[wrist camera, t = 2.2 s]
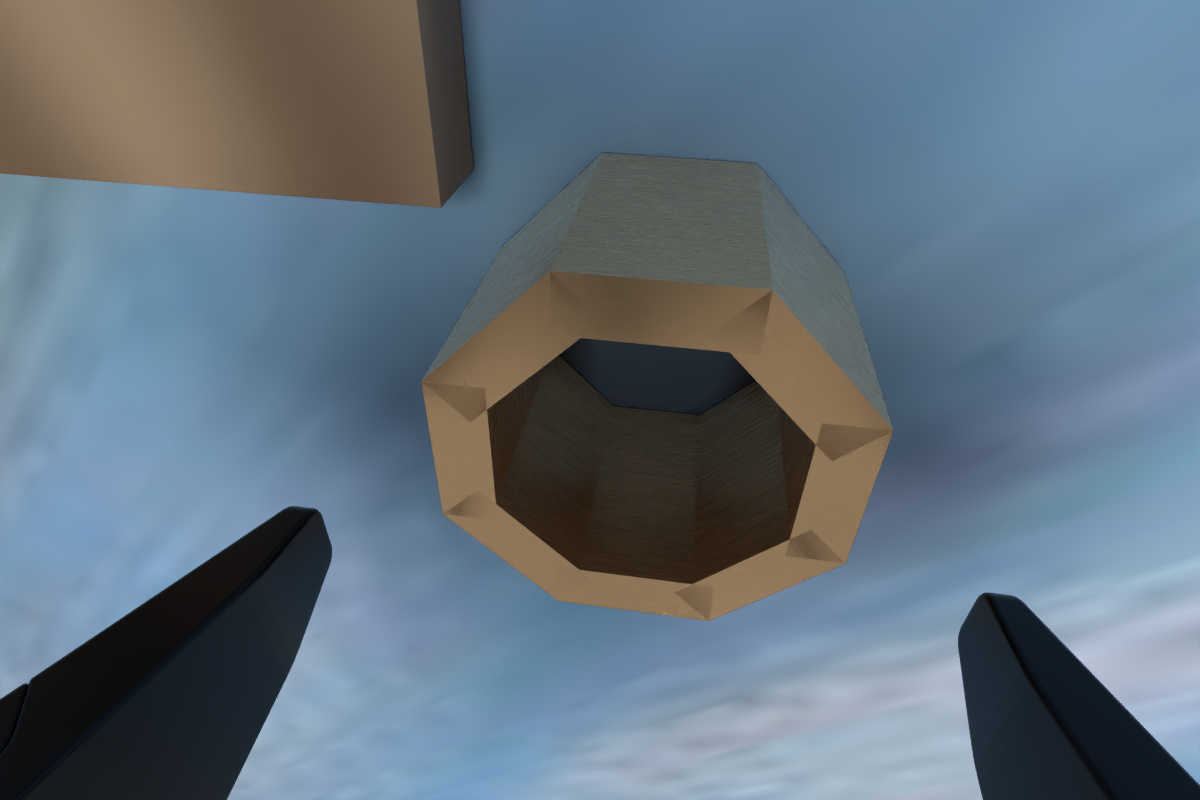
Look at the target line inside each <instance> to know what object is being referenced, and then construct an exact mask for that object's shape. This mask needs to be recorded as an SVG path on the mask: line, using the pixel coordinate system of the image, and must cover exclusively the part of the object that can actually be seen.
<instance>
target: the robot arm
mask: <svg viewBox="0 0 1200 800" xmlns="http://www.w3.org/2000/svg"><path fill="white" fill-rule="evenodd" d="M331 558H332V546H331V543H330V539H329V536H328V533H327V530H326V527H325V524H324V521H323V517H322V515H321V513H320V512H319V511H318V510H317V509H314V508H306V507H298V506H291V507H288V508H285V509H284V510H282V511H281V512H279V513H278V514H276V515H275V516H273V517H272V518H270V519H269V520H267V521H266V522H264V523H263V524H261V525H260V526H258V527H257V528H255V529H254V530H252V531H251V532H249V533H248V534H246V535H245V536H243V537H242V538H240V539H239V540H237V541H236V542H234V543H233V544H231V545H230V546H228V547H227V548H225V549H224V550H222V551H221V552H219V553H218V554H216V555H215V556H213V557H212V558H210V559H209V560H208V561H206V562H205V563H203V564H202V565H200V566H199V567H197V568H196V569H194V570H193V571H191V572H190V573H188V574H187V575H185V576H184V577H182V578H181V579H179V580H178V581H176V582H175V583H173V584H172V585H170V586H169V587H167V588H166V589H164V590H163V591H161V592H160V593H158V594H157V595H155V596H154V597H152V598H151V599H149V600H148V601H146V602H145V603H143V604H142V605H140V606H139V607H137V608H136V609H134V610H133V611H132V612H130V613H129V614H127V615H126V616H124V617H123V618H121V619H120V620H118V621H117V622H115V623H114V624H112V625H111V626H109V627H108V628H106V629H105V630H103V631H102V632H100V633H99V634H97V635H96V636H94V637H93V638H91V639H90V640H88V641H87V642H85V643H84V644H82V645H81V646H79V647H78V648H76V649H75V650H73V651H72V652H70V653H69V654H67V655H66V656H64V657H63V658H61V659H60V660H59V661H57V662H56V663H54V664H53V665H51V666H50V667H48V668H47V669H45V670H44V671H42V672H41V673H39V674H38V675H36V676H35V677H33V678H32V679H31V680H30V682H29V684H22V685H21V686H19V687H18V688H16V689H15V690H13V691H12V692H10V693H9V694H7V695H6V696H5V697H3V698H2V699H0V800H227V798H228V796H229V794H230V792H231V790H232V788H233V786H234V784H235V782H236V780H237V778H238V776H239V774H240V772H241V770H242V768H243V765H244V763H245V761H246V759H247V757H248V755H249V753H250V751H251V749H252V747H253V745H254V743H255V741H256V739H257V737H258V735H259V733H260V731H261V729H262V727H263V725H264V723H265V721H266V719H267V717H268V714H269V712H270V710H271V708H272V706H273V704H274V702H275V700H276V698H277V696H278V694H279V692H280V690H281V688H282V686H283V684H284V682H285V680H286V678H287V676H288V673H289V671H290V669H291V667H292V665H293V663H294V660H295V658H296V655H297V653H298V650H299V648H300V645H301V642H302V640H303V637H304V634H305V631H306V629H307V626H308V623H309V620H310V618H311V615H312V612H313V609H314V607H315V604H316V601H317V598H318V596H319V593H320V590H321V587H322V585H323V582H324V579H325V577H326V574H327V571H328V568H329V566H330V562H331ZM958 649H959V656H960V664H961V671H962V678H963V686H964V693H965V701H966V708H967V716H968V723H969V731H970V738H971V745H972V751H973V758H974V763H975V768H976V772H977V777H978V781H979V785H980V789H981V793H982V797H983V800H1200V785H1199V784H1198V783H1197V782H1196V781H1195V780H1194V779H1193V778H1192V777H1191V776H1190V774H1189V773H1188V772H1187V771H1186V770H1185V769H1184V768H1183V767H1182V766H1181V765H1180V764H1179V763H1178V762H1177V761H1176V760H1175V759H1174V758H1173V757H1172V756H1171V755H1170V754H1169V753H1168V752H1167V751H1166V750H1165V749H1164V748H1163V746H1162V745H1161V744H1160V743H1159V742H1158V741H1157V740H1156V739H1155V738H1154V737H1153V736H1152V735H1151V734H1150V733H1149V732H1148V731H1147V730H1146V729H1145V728H1144V727H1143V726H1142V725H1141V724H1140V723H1139V722H1138V721H1137V720H1136V718H1135V717H1134V716H1133V715H1132V714H1131V713H1130V712H1129V711H1128V710H1127V709H1126V708H1125V707H1124V706H1123V705H1122V704H1121V703H1120V702H1119V701H1118V700H1117V699H1116V698H1115V697H1114V696H1113V695H1112V694H1111V693H1110V692H1109V690H1108V689H1107V688H1106V687H1105V686H1104V685H1103V684H1102V683H1101V682H1100V681H1099V680H1098V679H1097V678H1096V677H1095V676H1094V675H1093V674H1092V673H1091V672H1090V671H1089V670H1088V669H1087V668H1086V667H1085V666H1084V665H1083V664H1082V662H1081V661H1080V660H1079V659H1078V658H1077V657H1076V656H1075V655H1074V654H1073V653H1072V652H1071V651H1070V650H1069V649H1068V648H1067V647H1066V646H1065V645H1064V644H1063V643H1062V642H1061V641H1060V640H1059V639H1058V638H1057V637H1056V636H1055V635H1054V633H1053V632H1052V631H1051V630H1050V629H1049V628H1048V627H1047V626H1046V625H1045V624H1044V623H1043V622H1042V621H1041V620H1040V619H1039V618H1038V617H1037V616H1036V615H1035V614H1034V613H1033V612H1032V611H1031V610H1030V609H1029V608H1028V607H1027V605H1026V604H1025V603H1024V602H1022V601H1021V600H1020V599H1018V598H1017V597H1015V596H1011V595H1003V594H995V593H983V594H982V595H980V596H979V597H978V598H977V600H976V602H975V603H974V605H973V607H972V609H971V611H970V612H969V614H968V616H967V618H966V619H965V621H964V623H963V625H962V627H961V629H960V632H959V637H958Z"/></svg>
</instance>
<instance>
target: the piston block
mask: <svg viewBox="0 0 1200 800" xmlns="http://www.w3.org/2000/svg"><path fill="white" fill-rule="evenodd" d="M473 170H474V167H473V156H472V144H471V133H470V121H469V110H468V98H467V87H466V75H465V64H464V52H463V41H462V29H461V18H460V7H459V0H0V173H3V174H16V175H29V176H41V177H54V178H67V179H80V180H93V181H106V182H118V183H131V184H144V185H157V186H170V187H183V188H195V189H208V190H221V191H234V192H247V193H260V194H272V195H285V196H298V197H311V198H324V199H336V200H349V201H362V202H375V203H388V204H401V205H413V206H426V207H439V208H441V207H442V206H443V205H444V204H445V202H446V201H447V200H448V199H449V198H450V197H451V196H452V194H453V193H454V192H455V191H456V190H457V189H458V187H459V186H460V185H461V184H462V183H463V182H464V180H465V179H466V178H467V177H468V176H469V175H470V173H471V172H472V171H473Z"/></svg>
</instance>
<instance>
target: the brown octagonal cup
mask: <svg viewBox="0 0 1200 800" xmlns="http://www.w3.org/2000/svg"><path fill="white" fill-rule="evenodd" d="M580 338H585V339H595V340H606V341H616V342H627V343H637V344H648V345H658V346H669V347H679V348H690V349H700V350H711V351H721V352H730V353H731V354H732V355H733V356H734V358H735V359H736V360H737V361H738V362H739V363H740V364H741V365H742V366H743V367H744V368H745V369H746V370H747V371H748V373H749V374H750V375H751V376H752V377H753V378H754V379H755V380H756V381H755V382H753V383H751V384H750V385H748V386H747V387H745V388H743V389H742V390H740V391H738V392H737V393H735V394H733V395H732V396H730V397H729V398H727V399H725V400H724V401H722V402H720V403H719V404H717V405H715V406H714V407H712V408H711V409H709V410H707V411H706V412H704V413H702V414H701V415H693V414H684V413H674V412H665V411H655V410H646V409H636V408H626V407H617V406H613V405H612V404H610V403H609V402H608V401H607V400H606V399H605V398H604V397H603V396H602V395H601V394H600V393H599V392H598V391H597V390H596V389H594V388H593V387H592V386H591V385H590V384H589V383H588V382H587V381H586V380H585V379H584V378H583V377H582V376H581V375H579V374H578V373H577V372H576V371H575V370H574V369H573V368H572V367H571V366H570V365H569V364H568V363H567V362H566V361H565V360H563V359H562V358H561V357H560V356H559V354H561V353H562V352H563V351H565V350H566V349H567V348H569V347H570V346H571V345H572V344H574V343H575V342H576V341H578V340H579V339H580ZM421 383H422V389H423V395H424V401H425V408H426V414H427V420H428V426H429V432H430V438H431V444H432V451H433V457H434V463H435V469H436V475H437V481H438V487H439V493H440V500H441V506H442V512H443V514H444V515H445V516H446V517H448V518H449V519H450V520H452V521H453V522H454V523H456V524H457V525H458V526H459V527H461V528H462V529H463V530H465V531H466V532H467V533H469V534H470V535H471V536H473V537H474V538H475V539H477V540H478V541H479V542H481V543H482V544H483V545H485V546H486V547H487V548H489V549H490V550H491V551H493V552H494V553H495V554H497V555H498V556H499V557H500V558H502V559H503V560H504V561H506V562H507V563H508V564H510V565H511V566H512V567H514V568H515V569H516V570H518V571H519V572H520V573H522V574H523V575H524V576H526V577H527V578H528V579H530V580H531V581H532V582H534V583H535V584H536V585H538V586H539V587H540V588H541V589H543V590H544V591H545V592H547V593H548V594H549V595H551V596H552V597H553V598H555V599H556V600H557V601H563V602H571V603H578V604H586V605H593V606H601V607H608V608H616V609H623V610H631V611H638V612H646V613H653V614H660V615H668V616H675V617H683V618H690V619H698V620H705V621H710V620H712V619H715V618H717V617H719V616H722V615H724V614H726V613H729V612H731V611H734V610H736V609H738V608H741V607H743V606H745V605H748V604H750V603H753V602H755V601H757V600H760V599H762V598H765V597H767V596H769V595H772V594H774V593H776V592H779V591H781V590H784V589H786V588H788V587H791V586H793V585H795V584H798V583H800V582H803V581H805V580H807V579H810V578H812V577H815V576H817V575H819V574H822V573H824V572H826V571H829V570H831V569H834V568H836V567H838V566H841V565H843V564H845V563H846V561H847V558H848V555H849V553H850V550H851V547H852V544H853V542H854V539H855V536H856V533H857V531H858V528H859V525H860V522H861V519H862V517H863V514H864V511H865V508H866V506H867V503H868V500H869V497H870V494H871V492H872V489H873V486H874V483H875V481H876V478H877V475H878V472H879V469H880V467H881V464H882V461H883V458H884V456H885V453H886V450H887V447H888V444H889V442H890V439H891V436H892V433H893V431H894V430H893V427H892V424H891V421H890V417H889V414H888V411H887V408H886V404H885V401H884V398H883V395H882V392H881V388H880V385H879V382H878V379H877V375H876V372H875V369H874V366H873V362H872V359H871V356H870V353H869V349H868V346H867V343H866V340H865V336H864V333H863V330H862V327H861V324H860V320H859V317H858V314H857V311H856V307H855V304H854V301H853V298H852V294H851V291H850V288H849V285H848V281H847V278H846V275H845V273H844V271H843V270H842V269H841V268H840V266H839V265H838V264H837V263H836V261H835V260H834V259H833V258H832V256H831V255H830V254H829V253H828V251H827V250H826V249H825V248H824V246H823V245H822V244H821V242H820V241H819V240H818V239H817V237H816V236H815V235H814V234H813V232H812V231H811V230H810V229H809V227H808V226H807V225H806V224H805V222H804V221H803V220H802V219H801V217H800V216H799V215H798V214H797V212H796V211H795V210H794V209H793V207H792V206H791V205H790V204H789V202H788V201H787V200H786V198H785V197H784V196H783V195H782V193H781V192H780V191H779V190H778V188H777V187H776V186H775V185H774V183H773V182H772V181H771V180H770V178H769V177H768V176H767V175H766V173H765V172H764V171H763V170H762V168H761V167H760V166H759V165H758V163H746V162H732V161H717V160H703V159H688V158H673V157H659V156H644V155H629V154H615V153H602V154H601V155H599V156H598V157H597V158H596V159H595V160H594V161H593V162H592V163H591V164H590V165H589V166H588V167H587V168H585V169H584V170H583V171H582V172H581V173H580V174H579V175H578V176H577V177H576V178H575V179H574V180H573V181H571V182H570V183H569V184H568V185H567V186H566V187H565V188H564V189H563V190H562V191H561V192H560V193H559V194H558V195H556V196H555V197H554V198H553V199H552V200H551V201H550V202H549V203H548V204H547V205H546V206H545V207H544V208H542V209H541V210H540V211H539V212H538V213H537V214H536V215H535V216H534V217H533V218H532V219H531V220H530V221H529V222H527V223H526V224H525V225H524V226H523V227H522V228H521V229H520V230H519V231H518V232H517V233H516V234H515V235H513V236H512V237H511V238H510V239H509V240H508V241H507V242H506V243H505V244H504V245H503V246H502V248H501V250H500V251H499V253H498V255H497V256H496V258H495V260H494V261H493V263H492V265H491V266H490V268H489V270H488V271H487V273H486V275H485V276H484V278H483V280H482V281H481V283H480V285H479V286H478V288H477V290H476V291H475V293H474V295H473V296H472V298H471V300H470V301H469V303H468V305H467V306H466V308H465V309H464V311H463V313H462V314H461V316H460V318H459V319H458V321H457V323H456V324H455V326H454V328H453V329H452V331H451V333H450V334H449V336H448V338H447V339H446V341H445V343H444V344H443V346H442V348H441V349H440V351H439V353H438V354H437V356H436V358H435V359H434V361H433V363H432V364H431V366H430V368H429V369H428V371H427V373H426V374H425V376H424V378H423V379H422V381H421Z"/></svg>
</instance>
